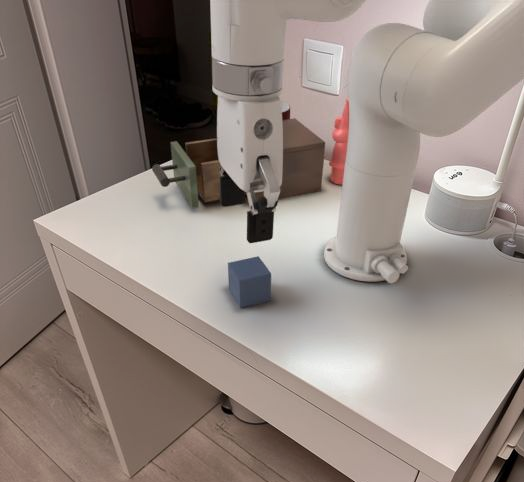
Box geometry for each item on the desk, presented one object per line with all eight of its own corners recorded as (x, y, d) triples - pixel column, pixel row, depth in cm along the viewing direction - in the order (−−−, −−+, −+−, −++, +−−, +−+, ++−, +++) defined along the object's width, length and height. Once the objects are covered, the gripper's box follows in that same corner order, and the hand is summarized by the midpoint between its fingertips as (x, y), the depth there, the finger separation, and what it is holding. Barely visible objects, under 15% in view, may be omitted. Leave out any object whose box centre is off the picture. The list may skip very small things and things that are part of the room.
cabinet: (248, 204, 96) (248, 154, 90) (224, 175, 104) (223, 128, 98) (321, 190, 100) (325, 142, 94) (292, 164, 108) (295, 118, 102)
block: (270, 300, 75) (271, 273, 72) (240, 308, 74) (239, 280, 71) (258, 282, 78) (258, 256, 75) (228, 289, 77) (227, 262, 74)
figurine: (344, 172, 106) (354, 91, 96) (359, 182, 103) (370, 100, 92) (322, 176, 104) (329, 95, 94) (336, 187, 101) (345, 104, 91)
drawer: (167, 212, 91) (162, 171, 86) (151, 184, 99) (145, 145, 94) (264, 195, 96) (264, 155, 92) (241, 169, 104) (241, 131, 99)
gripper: (315, 98, 52) (300, 250, 63) (250, 53, 64) (248, 188, 75) (243, 105, 50) (241, 262, 61) (190, 57, 61) (197, 196, 73)
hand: (245, 221), depth 68 cm, fingers open, 9 cm apart
